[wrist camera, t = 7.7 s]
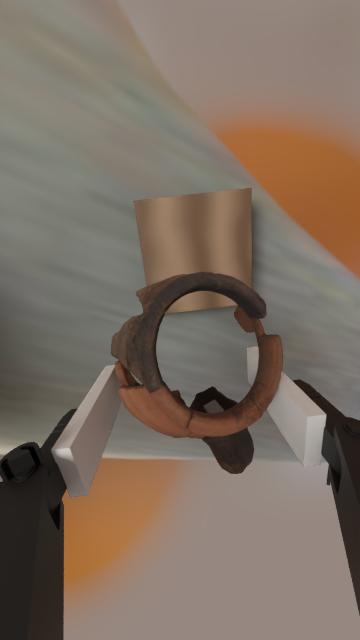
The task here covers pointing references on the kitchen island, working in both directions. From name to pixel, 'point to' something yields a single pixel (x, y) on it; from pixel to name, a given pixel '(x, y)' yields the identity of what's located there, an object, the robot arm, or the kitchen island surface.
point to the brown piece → (210, 405)
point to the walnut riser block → (197, 241)
